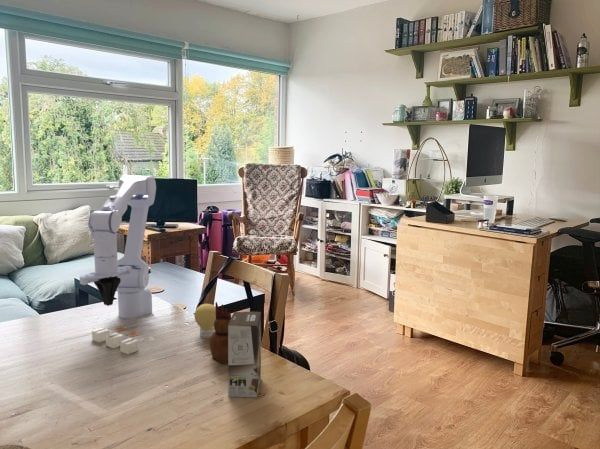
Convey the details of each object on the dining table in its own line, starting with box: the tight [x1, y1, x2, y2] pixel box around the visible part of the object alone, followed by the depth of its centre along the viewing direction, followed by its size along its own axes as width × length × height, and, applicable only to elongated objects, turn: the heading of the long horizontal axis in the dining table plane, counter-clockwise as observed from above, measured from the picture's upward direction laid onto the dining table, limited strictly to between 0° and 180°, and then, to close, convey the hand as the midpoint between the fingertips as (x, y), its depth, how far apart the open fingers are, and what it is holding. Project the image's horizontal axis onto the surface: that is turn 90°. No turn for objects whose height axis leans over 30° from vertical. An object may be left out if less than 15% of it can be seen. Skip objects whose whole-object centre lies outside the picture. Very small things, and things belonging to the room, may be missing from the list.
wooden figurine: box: [209, 301, 232, 364], centre depth 122 cm, size 7×6×15 cm
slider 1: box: [91, 327, 110, 344], centre depth 132 cm, size 3×3×3 cm
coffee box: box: [227, 311, 262, 399], centre depth 109 cm, size 9×6×16 cm
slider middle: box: [105, 332, 124, 349], centre depth 128 cm, size 3×3×3 cm
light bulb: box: [194, 303, 216, 339], centre depth 136 cm, size 6×6×10 cm
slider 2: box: [119, 337, 139, 355], centre depth 125 cm, size 3×3×3 cm
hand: (108, 304), depth 135 cm, fingers closed
